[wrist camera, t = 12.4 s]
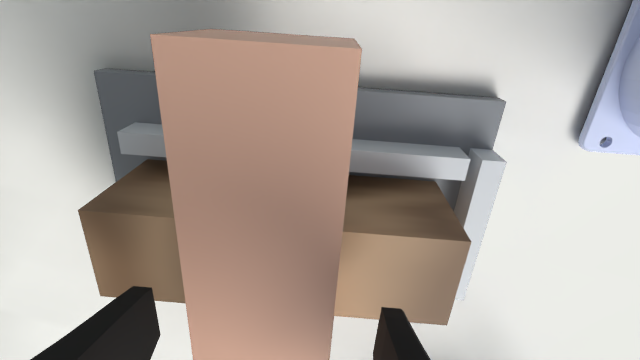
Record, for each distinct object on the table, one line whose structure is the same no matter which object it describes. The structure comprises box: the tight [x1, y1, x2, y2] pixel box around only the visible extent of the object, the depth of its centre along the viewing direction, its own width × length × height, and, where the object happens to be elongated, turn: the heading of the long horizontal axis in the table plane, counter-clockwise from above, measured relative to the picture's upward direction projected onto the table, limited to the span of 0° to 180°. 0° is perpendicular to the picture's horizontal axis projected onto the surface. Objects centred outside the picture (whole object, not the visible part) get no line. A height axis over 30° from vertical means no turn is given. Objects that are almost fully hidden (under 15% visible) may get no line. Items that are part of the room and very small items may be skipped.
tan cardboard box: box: [78, 159, 471, 325], centre depth 16 cm, size 14×4×5 cm, turn 86°
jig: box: [94, 69, 506, 300], centre depth 17 cm, size 18×12×2 cm, turn 86°
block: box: [150, 29, 362, 360], centre depth 12 cm, size 16×4×4 cm, turn 176°
